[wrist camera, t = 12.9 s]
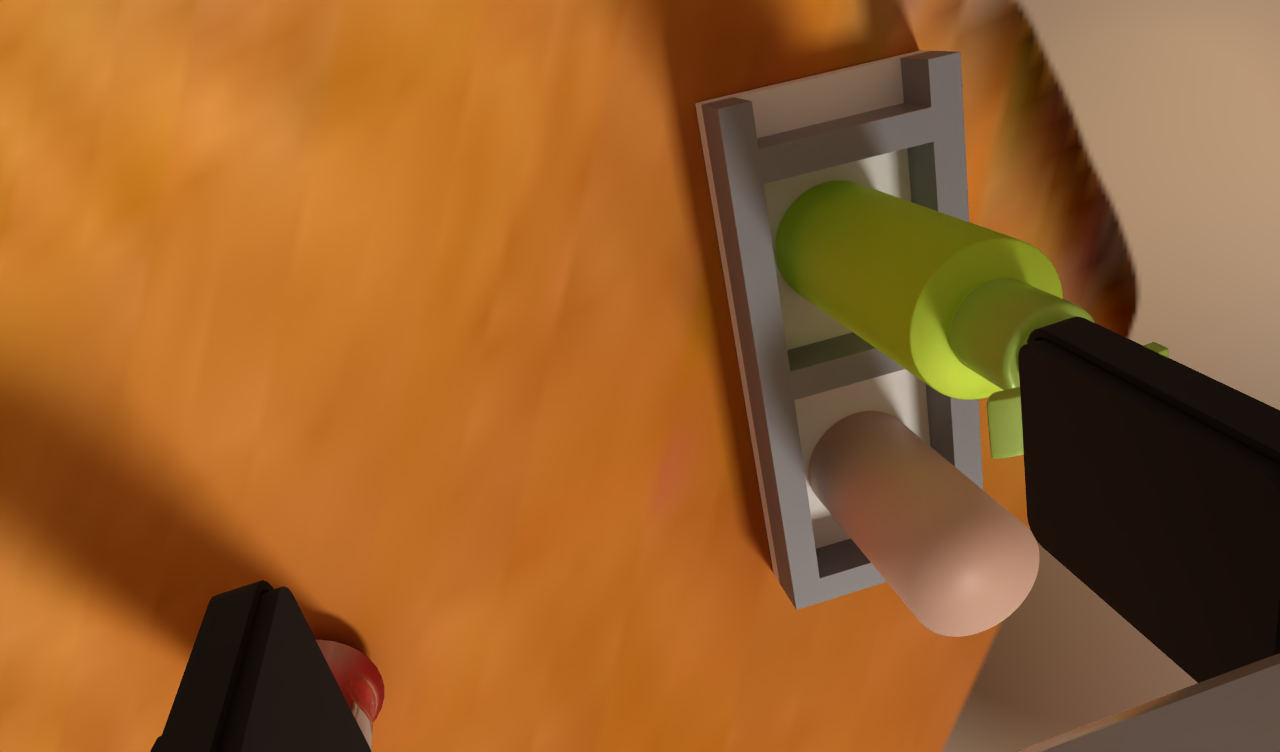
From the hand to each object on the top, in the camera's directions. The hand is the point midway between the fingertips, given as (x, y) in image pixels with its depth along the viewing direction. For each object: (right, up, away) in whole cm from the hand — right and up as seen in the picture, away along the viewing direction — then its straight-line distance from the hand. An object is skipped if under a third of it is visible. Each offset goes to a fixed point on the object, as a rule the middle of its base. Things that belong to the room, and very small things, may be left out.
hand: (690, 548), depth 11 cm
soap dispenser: (+8, +8, +32) cm, 34 cm away
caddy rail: (+10, +4, +35) cm, 37 cm away
